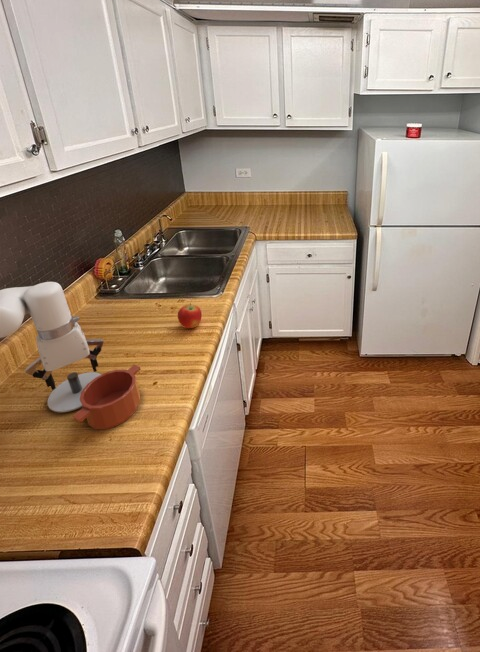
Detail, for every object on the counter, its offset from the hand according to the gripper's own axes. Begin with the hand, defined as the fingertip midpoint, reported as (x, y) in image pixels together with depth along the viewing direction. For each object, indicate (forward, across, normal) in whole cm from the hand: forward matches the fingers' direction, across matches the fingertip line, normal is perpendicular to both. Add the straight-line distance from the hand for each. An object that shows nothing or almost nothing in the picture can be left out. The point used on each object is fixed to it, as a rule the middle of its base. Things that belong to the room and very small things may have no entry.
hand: (74, 377), depth 93 cm
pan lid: (+5, 0, 0) cm, 5 cm away
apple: (+6, -36, -9) cm, 37 cm away
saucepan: (+6, -6, +12) cm, 15 cm away
